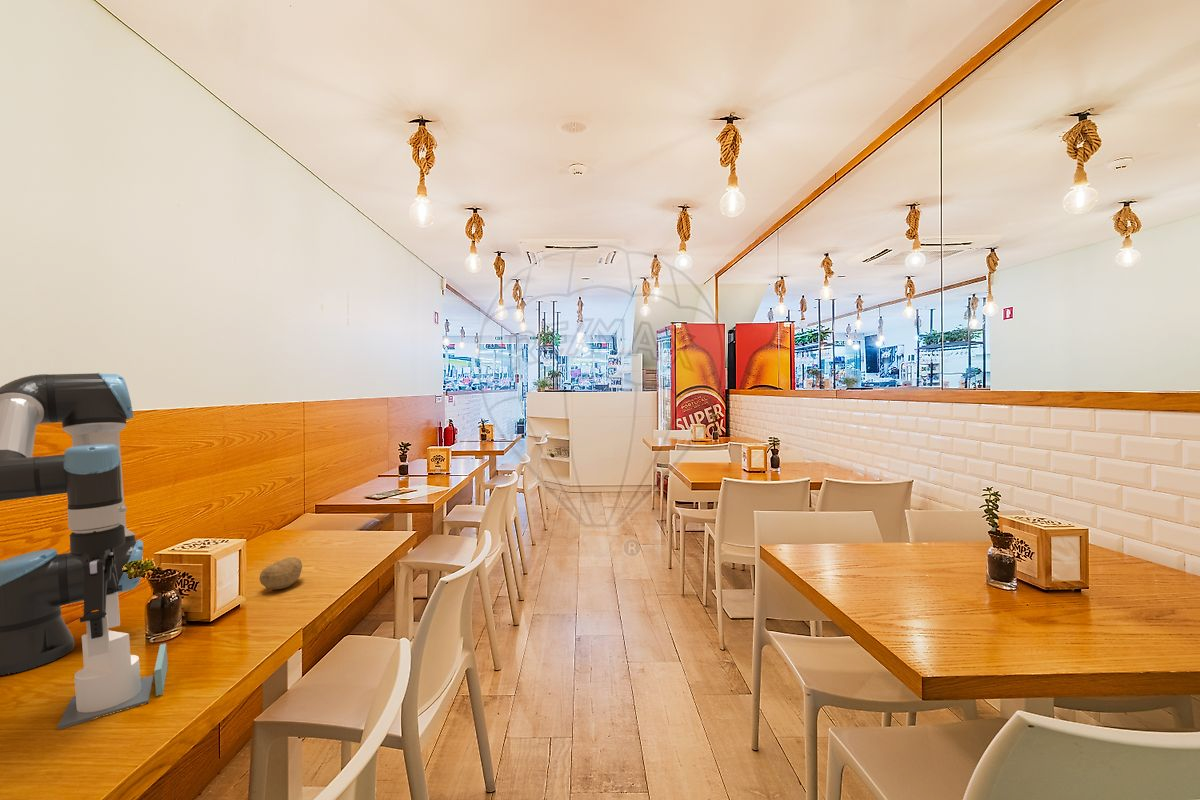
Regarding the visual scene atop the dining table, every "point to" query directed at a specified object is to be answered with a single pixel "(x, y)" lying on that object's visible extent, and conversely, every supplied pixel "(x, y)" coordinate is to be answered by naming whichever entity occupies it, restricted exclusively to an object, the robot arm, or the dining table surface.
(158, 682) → the panel
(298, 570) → the potato
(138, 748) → the dining table surface
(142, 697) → the coaster
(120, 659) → the cylinder with rectangular tab
